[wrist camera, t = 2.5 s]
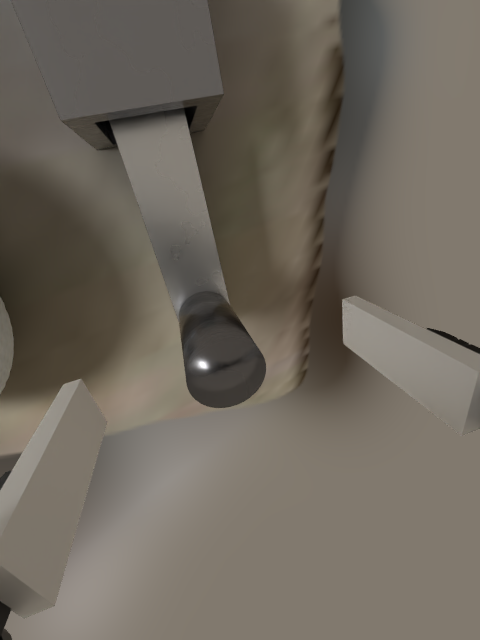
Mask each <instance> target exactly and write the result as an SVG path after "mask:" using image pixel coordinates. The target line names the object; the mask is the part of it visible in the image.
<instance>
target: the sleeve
mask: <svg viewBox="0 0 480 640" xmlns="http://www.w3.org/2000/svg"><path fill="white" fill-rule="evenodd" d="M11 2H12V4H13V7H14V9H15V12H16V14H17V16H18V19H19V21H20V24H21V26H22V28H23V31H24V33H25V36H26V38H27V40H28V43H29V45H30V48H31V50H32V53H33V55H34V57H35V60H36V62H37V65H38V67H39V69H40V72H41V74H42V77H43V79H44V81H45V84H46V86H47V89H48V91H49V93H50V96H51V98H52V101H53V103H54V106H55V108H56V110H57V113H58V115H59V118H60V120H61V121H62V122H63V123H65V124H66V125H67V126H68V127H69V128H71V129H72V130H73V131H74V132H75V133H77V134H78V135H79V136H80V137H82V138H83V139H84V140H85V141H86V142H88V143H89V144H90V145H91V146H93V147H94V148H95V149H96V150H98V149H104V148H109V147H115V146H118V145H117V142H116V139H115V136H114V133H113V130H112V128H111V125H110V122H109V120H113V119H119V118H125V117H131V116H137V115H143V114H149V113H155V112H161V111H167V110H173V109H179V108H184V111H185V116H186V120H187V124H188V128H189V133H191V132H197V131H202V130H205V128H206V126H207V125H208V123H209V121H210V119H211V117H212V115H213V113H214V111H215V110H216V108H217V106H218V104H219V102H220V100H221V98H222V96H223V95H224V92H223V86H222V80H221V74H220V69H219V63H218V57H217V52H216V46H215V40H214V35H213V29H212V23H211V18H210V12H209V6H208V0H11Z"/></svg>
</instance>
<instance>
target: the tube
mask: <svg viewBox="0 0 480 640" xmlns="http://www.w3.org/2000/svg"><path fill="white" fill-rule="evenodd" d="M109 122H110V125H111V128H112V130H113V133H114V136H115V139H116V142H117V145H118V148H119V151H120V154H121V156H122V159H123V162H124V165H125V168H126V171H127V174H128V177H129V179H130V182H131V185H132V188H133V191H134V194H135V197H136V200H137V203H138V205H139V208H140V211H141V214H142V217H143V220H144V223H145V226H146V229H147V231H148V234H149V237H150V240H151V243H152V246H153V249H154V252H155V255H156V257H157V260H158V263H159V266H160V269H161V272H162V275H163V278H164V281H165V283H166V286H167V289H168V292H169V295H170V298H171V301H172V304H173V307H174V309H175V312H176V315H177V318H178V321H179V326H180V334H181V342H182V350H183V358H184V366H185V374H186V382H187V387H188V390H189V392H190V394H191V395H192V397H193V398H194V399H195V400H197V401H198V402H199V403H201V404H203V405H206V406H209V407H214V408H226V407H231V406H234V405H237V404H240V403H242V402H244V401H245V400H247V399H248V398H250V397H251V396H252V395H253V394H254V393H255V392H256V391H257V390H258V389H259V387H260V386H261V384H262V382H263V380H264V377H265V373H266V363H265V359H264V357H263V355H262V353H261V352H260V350H259V349H258V347H257V346H256V344H255V343H254V341H253V340H252V338H251V336H250V335H249V333H248V332H247V330H246V329H245V327H244V326H243V324H242V323H241V321H240V320H239V318H238V317H237V315H236V314H235V312H234V311H233V309H232V308H231V306H230V303H229V298H228V294H227V290H226V286H225V281H224V277H223V273H222V269H221V264H220V260H219V256H218V252H217V247H216V243H215V239H214V235H213V230H212V226H211V222H210V218H209V213H208V209H207V205H206V201H205V196H204V192H203V188H202V184H201V179H200V175H199V171H198V167H197V162H196V158H195V154H194V150H193V145H192V141H191V137H190V133H189V128H188V124H187V120H186V116H185V111H184V108H179V109H173V110H167V111H161V112H155V113H149V114H143V115H137V116H131V117H125V118H119V119H113V120H109Z"/></svg>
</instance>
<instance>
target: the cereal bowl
mask: <svg viewBox="0 0 480 640" xmlns="http://www.w3.org/2000/svg"><path fill="white" fill-rule="evenodd" d="M13 341H14V337H13V333H12V326H11V323H10V318H9V315H8V313H7V311H6V309H5V306H4V302H3V301H2V299H1V297H0V394H1V392H2V390H3V389H4V388H5V386H6V381H7V380H8V378H9V374H10V370H11V368H12V362H13V355H14V351H13V349H14V342H13Z"/></svg>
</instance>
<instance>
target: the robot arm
mask: <svg viewBox="0 0 480 640" xmlns="http://www.w3.org/2000/svg"><path fill="white" fill-rule="evenodd" d="M342 309H343V310H342V313H343V344H344V345H346V346H347V347H348V348H350V349H351V350H352V351H353V352H355V353H356V354H357V355H359V356H360V357H361V358H362V359H364V360H365V361H366V362H367V363H369V364H370V365H371V366H373V367H374V368H375V369H376V370H378V371H379V372H380V373H382V374H383V375H384V376H385V377H387V378H388V379H389V380H391V381H392V382H393V383H394V384H396V385H397V386H398V387H399V388H401V389H402V390H403V391H404V392H406V393H407V394H408V395H410V396H411V397H412V398H413V399H415V400H416V401H417V402H419V403H420V404H421V405H422V406H424V407H425V408H426V409H428V410H429V411H430V412H431V413H433V414H434V415H435V416H437V417H438V418H439V419H440V420H442V421H443V422H444V423H445V424H447V425H448V426H449V427H451V428H452V429H453V430H454V431H456V432H457V433H458V434H459V435H461V436H463V435H465V434H468V433H470V432H473V431H475V430H477V429H480V348H478V347H476V346H474V345H469V344H468V343H467V342H465V341H463V340H461V339H460V340H458V339H457V338H456V337H454V336H452V335H450V334H447V333H445V332H442V331H438V330H434V329H430V328H427V329H425V328H423V327H421V326H419V325H417V324H415V323H412V322H410V321H408V320H406V319H404V318H402V317H400V316H398V315H395V314H393V313H391V312H389V311H387V310H385V309H383V308H381V307H379V306H377V305H374V304H372V303H370V302H368V301H366V300H364V299H362V298H360V297H358V296H352V297H348V298H345V299H342ZM106 425H107V420H106V419H105V417H104V415H103V414H102V412H101V410H100V409H99V407H98V405H97V404H96V402H95V400H94V399H93V397H92V395H91V394H90V392H89V390H88V389H87V387H86V385H85V384H84V382H83V380H82V379H78V380H75V381H72V382H68V383H65V384H63V386H62V387H61V389H60V391H59V392H58V394H57V396H56V398H55V399H54V401H53V403H52V404H51V406H50V408H49V409H48V411H47V413H46V414H45V416H44V418H43V419H42V421H41V423H40V424H39V426H38V428H37V429H36V431H35V433H34V435H33V436H32V438H31V440H30V441H29V443H28V445H27V446H26V448H25V450H24V451H23V453H22V455H21V456H20V458H19V460H18V461H17V463H16V465H15V467H14V468H13V470H11V471H8V472H5V474H4V475H3V476H2V477H1V478H0V640H12V638H11V635H10V634H9V633H8V632H7V630H6V629H4V626H5V624H6V621H7V619H8V616H9V614H10V611H13V612H15V613H16V614H18V615H19V616H21V617H22V618H27V617H29V616H31V615H34V614H36V613H39V612H41V611H43V610H46V609H48V608H51V607H53V606H55V603H56V599H57V596H58V592H59V588H60V585H61V581H62V578H63V575H64V571H65V568H66V564H67V561H68V557H69V554H70V550H71V547H72V543H73V540H74V536H75V533H76V529H77V526H78V522H79V519H80V515H81V512H82V508H83V505H84V501H85V498H86V494H87V491H88V487H89V484H90V480H91V477H92V474H93V470H94V467H95V463H96V459H97V456H98V453H99V448H100V446H101V442H102V439H103V435H104V432H105V428H106Z"/></svg>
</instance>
